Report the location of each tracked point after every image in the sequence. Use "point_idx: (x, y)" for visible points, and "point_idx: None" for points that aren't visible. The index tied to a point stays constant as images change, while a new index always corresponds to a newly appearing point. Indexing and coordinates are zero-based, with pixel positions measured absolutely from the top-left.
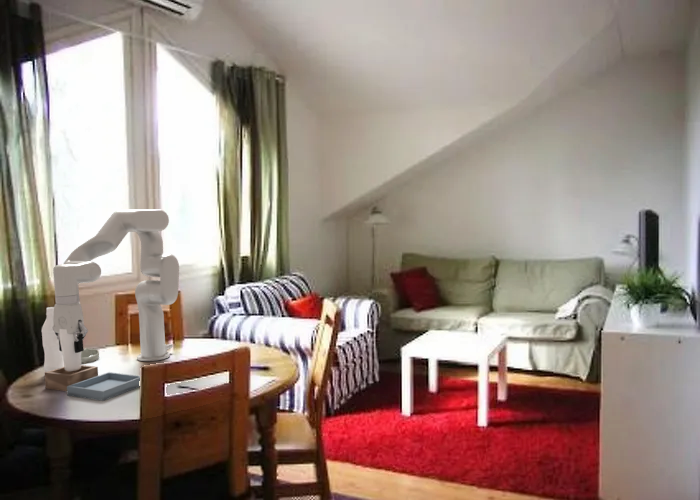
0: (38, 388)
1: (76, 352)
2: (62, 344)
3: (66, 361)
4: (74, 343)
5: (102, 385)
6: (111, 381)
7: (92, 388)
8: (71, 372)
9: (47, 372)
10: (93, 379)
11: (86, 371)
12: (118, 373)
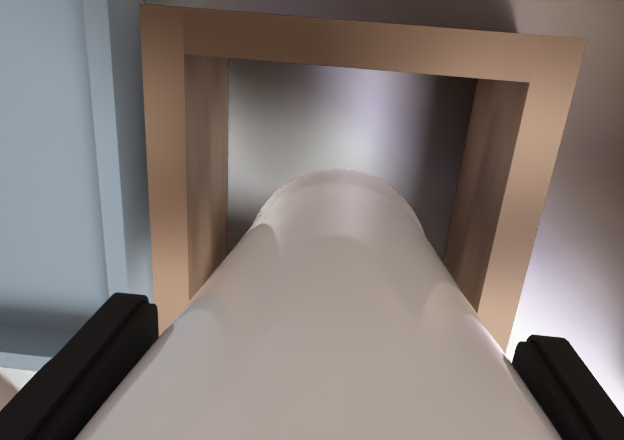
0: (590, 14)
1: (119, 298)
2: (370, 320)
3: (325, 194)
4: (35, 418)
5: (19, 177)
6: (49, 279)
7: (19, 84)
8: None
9: (547, 53)
10: (106, 207)
11: (154, 235)
12: (28, 366)
